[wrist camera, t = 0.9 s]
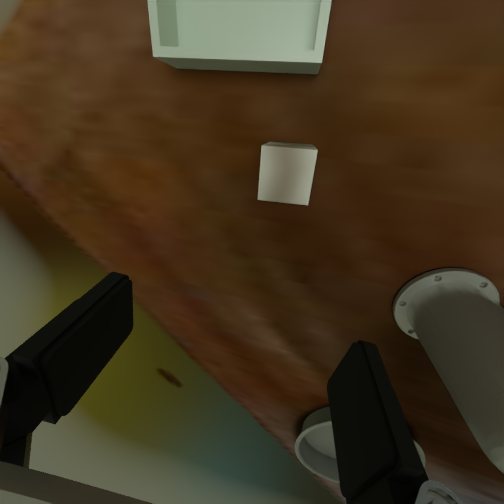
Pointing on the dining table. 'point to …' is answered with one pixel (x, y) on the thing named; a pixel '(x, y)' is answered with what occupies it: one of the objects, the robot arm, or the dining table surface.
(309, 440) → the cake pan
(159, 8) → the sage bin
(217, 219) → the dining table surface
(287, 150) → the cream block
